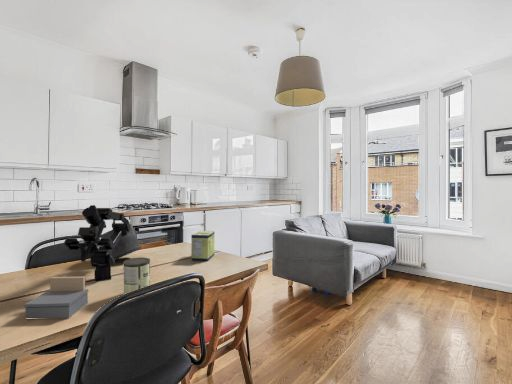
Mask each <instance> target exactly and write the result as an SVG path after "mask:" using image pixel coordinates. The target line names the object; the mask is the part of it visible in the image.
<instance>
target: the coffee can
mask: <svg viewBox="0 0 512 384" xmlns="http://www.w3.org/2000/svg"><path fill="white" fill-rule="evenodd" d="M122 264H123V295H124V294H125V293H128V292H131V291H134V290H137V289H140V288H143V287H146V286H149V285H150V286H151V275H150V273H151V266H150V265H151V259H150V258H148V257H133V258H129V259H126V260H124V261H123V262H122Z"/></svg>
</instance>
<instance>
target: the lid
mask: <svg viewBox="0 0 512 384" xmlns="http://www.w3.org/2000/svg"><path fill="white" fill-rule="evenodd" d="M86 293H89V289H88V288H87V289H86V276H51V277H50V278H49V290H46V291H45V292H43V293H42V294H39V295H38V296H36V297H34V298H33V299H31V300H30V301H27V302H26V303H24V308H26V307H55V306H70V305H71V304H73V303H74V302H75V301H77V300H78V299H80V298H81V297H82V296H84V295H85V294H86Z"/></svg>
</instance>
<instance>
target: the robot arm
mask: <svg viewBox="0 0 512 384" xmlns="http://www.w3.org/2000/svg"><path fill="white" fill-rule="evenodd" d="M81 215H82V216H83V218H84V219H85V221H86V223H87V224H89V226H87V227H86V226H85V227H84V226H83V227H81V226H80V227H79V229H78V232H77V236H80V240H78V239H77V238H76V237H67V238H66V239H64V241H63V244H64V246H65V247H66V248H67V249H68V250H69V251H77V250H80V262H81V263H84V262H85V261H87V259H89V260H90V263H91V267H92V268H95V269H94V279H95V281H96V282H98V281H105V280H106V281H108V280H111V279H112V270H111V269H112V268H111V267H114V266H115V261H116V259H114V258H113V256H112V251H113V249H114V248H115V246H116V245H117V243H118V242H119V240H120V239H121V237H123V236H125V235H127V234H128V233H129V231H130V230H131V226H130V224H131V223H130V221H129V219H128V218H126V217H125V214H124V213H123V212H116V211H113V209H111V208H110V207H97V206H96V205H95V204H94V205H90V206H88V207H86V208H85V209H83V210H82V214H81ZM110 220H112V224H111V228H112V230H113V233H112V235H111V236H110V238H102V234H103V231H104V229H107V223H106V221H110ZM116 221H121V222H117V223H116Z"/></svg>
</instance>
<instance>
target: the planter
mask: <svg viewBox="0 0 512 384" xmlns="http://www.w3.org/2000/svg"><path fill="white" fill-rule="evenodd" d="M130 226H131V230H130V231H129V233H128V234H127V235H125V236H123V237H121V239H120V240H119V242H118V243H117V245H116V246H115V248H114V249H113V251H112V256H113V258H114V259H115V260H117V259H120V258H123V257H125V256H127V255H129V254H132V253H134V252H137V251H139V250H140V249H142V247H141V245H140V242H139V239H138V237H137V234H136V231H135V229H134V226H133V224H132V223H130ZM112 233H113V229H112V230H108V231H107V232H104V233H102V234H101V235H102V238H110V236H111V235H112Z"/></svg>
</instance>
